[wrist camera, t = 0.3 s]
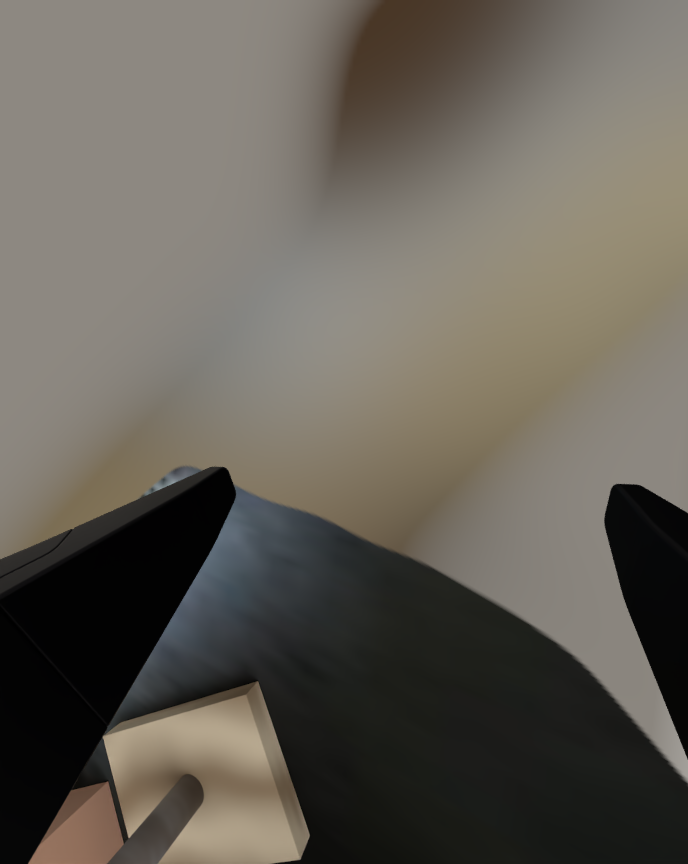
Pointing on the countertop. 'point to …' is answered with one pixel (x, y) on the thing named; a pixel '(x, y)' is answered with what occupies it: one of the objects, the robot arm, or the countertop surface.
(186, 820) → the post stand
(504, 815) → the countertop surface
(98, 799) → the collar
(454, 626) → the countertop surface
